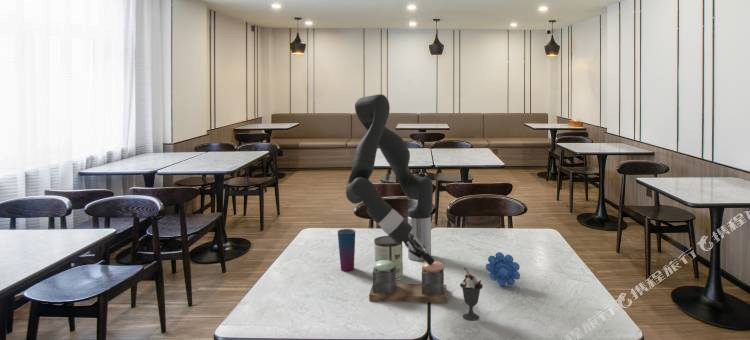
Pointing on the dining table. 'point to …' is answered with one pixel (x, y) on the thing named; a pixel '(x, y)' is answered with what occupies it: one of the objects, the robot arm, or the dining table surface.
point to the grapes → (503, 269)
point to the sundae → (471, 295)
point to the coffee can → (389, 253)
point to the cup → (346, 248)
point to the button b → (433, 267)
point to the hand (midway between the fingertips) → (432, 262)
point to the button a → (384, 265)
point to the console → (408, 288)
